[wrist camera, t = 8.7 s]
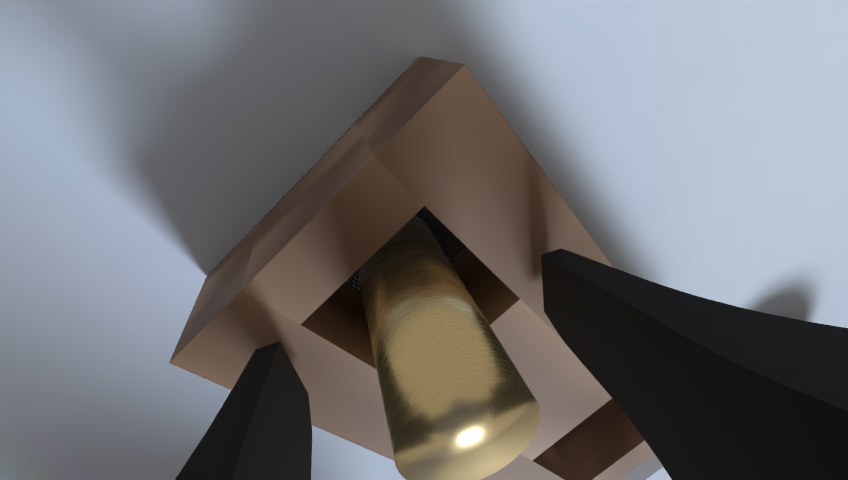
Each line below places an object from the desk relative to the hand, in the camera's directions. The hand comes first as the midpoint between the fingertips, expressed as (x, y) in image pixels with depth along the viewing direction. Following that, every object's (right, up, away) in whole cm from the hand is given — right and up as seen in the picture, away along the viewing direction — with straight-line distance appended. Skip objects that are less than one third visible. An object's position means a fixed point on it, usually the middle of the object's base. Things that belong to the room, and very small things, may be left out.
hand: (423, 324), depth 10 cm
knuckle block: (+3, -1, +7) cm, 8 cm away
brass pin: (-1, +2, +4) cm, 5 cm away
